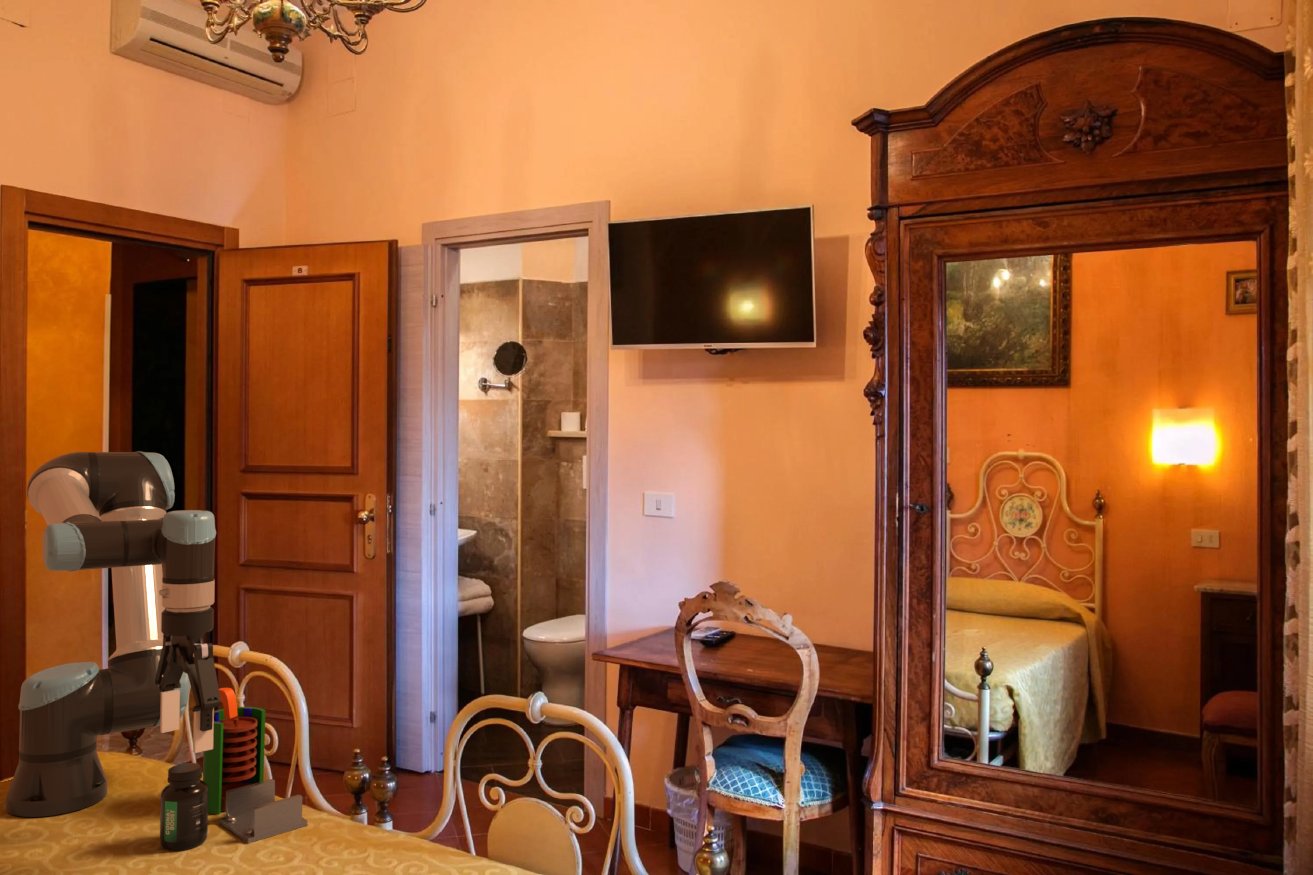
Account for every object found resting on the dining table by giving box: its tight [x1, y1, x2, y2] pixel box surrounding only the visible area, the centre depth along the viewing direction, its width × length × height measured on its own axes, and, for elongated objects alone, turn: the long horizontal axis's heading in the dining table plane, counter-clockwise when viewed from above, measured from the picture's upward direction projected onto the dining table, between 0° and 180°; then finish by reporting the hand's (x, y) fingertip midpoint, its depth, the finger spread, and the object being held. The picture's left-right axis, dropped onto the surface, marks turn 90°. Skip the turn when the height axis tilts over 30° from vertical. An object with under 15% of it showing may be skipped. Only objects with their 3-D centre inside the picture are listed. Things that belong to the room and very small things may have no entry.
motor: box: [202, 687, 266, 815], centre depth 167 cm, size 10×9×20 cm
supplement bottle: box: [159, 762, 209, 852], centre depth 151 cm, size 7×7×12 cm
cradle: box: [219, 778, 308, 844], centre depth 159 cm, size 11×10×5 cm
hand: (185, 740), depth 151 cm, fingers open, 13 cm apart
